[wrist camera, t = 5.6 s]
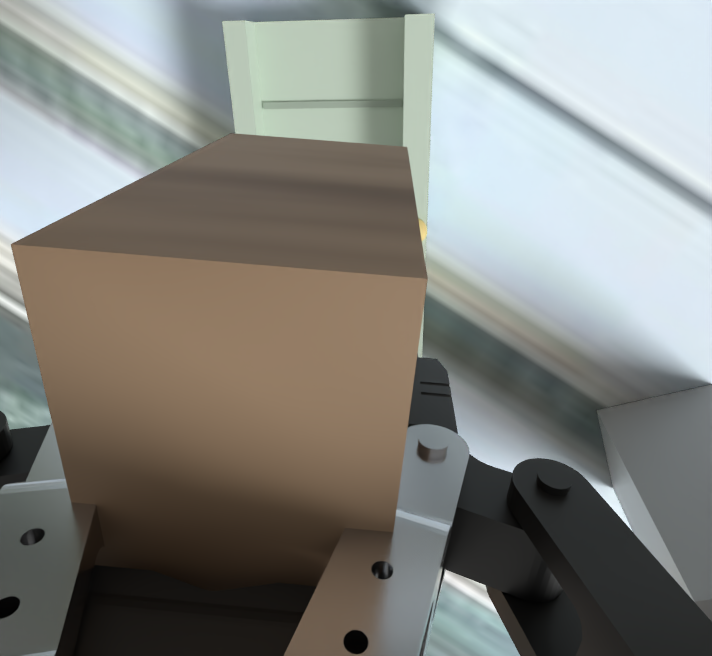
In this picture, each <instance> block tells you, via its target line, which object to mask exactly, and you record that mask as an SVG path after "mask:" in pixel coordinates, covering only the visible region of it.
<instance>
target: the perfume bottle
mask: <svg viewBox="0 0 712 656" xmlns="http://www.w3.org/2000/svg"><path fill="white" fill-rule="evenodd" d="M596 411H597V415H598V420H599V425H600V429H601V434H602V439H603V443H604V448H605V453H606V457H607V462H608V467H609V472H610V476H611V481H612V486H613V489H614V491H615V494H616V496H617V498H618V500H619V502H620V505H621V507H622V509H623V511H624V513H625V515H626V518H627V520H628V522H629V524H630V526H631V529H632V531H633V533H634V534H635V535H636V536H637V538H638V539H639V540H640V541H641V542H642V543H643V544H644V545H645V547H646V548H647V549H648V550H649V551H650V552H651V553H652V555H653V556H654V557H655V558H656V559H657V560H658V561H659V562H660V564H661V565H662V566H663V567H664V568H665V569H666V570H667V572H668V573H669V574H670V575H671V576H672V577H673V578H674V579H675V581H676V582H677V583H678V584H679V585H680V586H681V587H682V589H683V590H684V591H685V592H686V593H687V594H688V595H689V596H690V598H691V599H692V600H693V601H694V602H695V603H696V604H697V606H698V607H699V608H700V609H701V610H702V611H703V612H704V613H705V615H706V616H707V617H708V618H709V619H710V620H711V621H712V384H711V385H706V386H702V387H697V388H693V389H688V390H684V391H679V392H675V393H671V394H666V395H662V396H657V397H653V398H648V399H644V400H639V401H635V402H631V403H626V404H622V405H617V406H613V407H608V408H604V409H600V410H596Z"/></svg>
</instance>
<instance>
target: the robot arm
mask: <svg viewBox="0 0 712 656" xmlns="http://www.w3.org/2000/svg"><path fill="white" fill-rule="evenodd" d="M101 547H105V545H104V540H103V536H102V531H101V526H100V521H99V516H98V511H97V507H96V505H95V504H85V503H74V502H71V500H70V496H69V492H68V487H67V483H66V479H65V474H64V470H63V466H62V462H61V457H60V453H59V449H58V444H57V440H56V436H55V432H54V427H53V423H51V425H47V426H39V427H30V428H21V429H12V430H9V426H8V422H7V419H6V416H5V415H4V413H2V412H1V411H0V656H425V655H426V651H427V646H428V642H429V638H430V633H431V629H432V625H433V621H434V617H435V613H436V609H437V604H438V600H439V596H440V592H441V588H442V584H443V579H444V575H445V571H446V570H448V571H451V572H453V573H456V574H459V575H461V576H464V577H466V578H469V579H471V580H474V581H477V582H479V583H482V584H484V585H486V588H487V592H488V594H489V597H490V599H491V601H492V602H493V604H494V606H495V608H496V610H497V612H498V614H499V616H500V618H501V620H502V622H503V623H504V625H505V627H506V629H507V631H508V633H509V635H510V637H511V639H512V641H513V643H514V644H515V646H516V648H517V650H518V652H519V654H520V656H712V621H711V620H710V619H709V618H708V617H707V616H706V615H705V613H704V612H703V611H702V610H701V609H700V608H699V607H698V606H697V604H696V603H695V602H694V601H693V600H692V599H691V598H690V596H689V595H688V594H687V593H686V592H685V591H684V590H683V589H682V587H681V586H680V585H679V584H678V583H677V582H676V581H675V579H674V578H673V577H672V576H671V575H670V574H669V573H668V572H667V570H666V569H665V568H664V567H663V566H662V565H661V564H660V562H659V561H658V560H657V559H656V558H655V557H654V556H653V555H652V553H651V552H650V551H649V550H648V549H647V548H646V547H645V545H644V544H643V543H642V542H641V541H640V540H639V539H638V538H637V536H636V535H635V534H634V533H633V532H632V531H631V530H630V528H629V527H628V526H627V525H626V524H625V523H624V522H623V521H622V519H621V518H620V517H619V516H618V515H617V514H616V513H615V511H614V510H613V509H612V508H611V507H610V506H609V505H608V504H607V502H606V501H605V500H604V499H603V498H602V497H601V496H600V494H599V493H598V492H597V491H596V490H595V489H594V488H593V487H592V485H591V484H590V483H589V482H588V481H587V480H586V479H585V478H584V477H583V476H582V475H581V474H580V473H579V472H577V471H576V470H574V469H573V468H571V467H569V466H567V465H565V464H563V463H560V462H557V461H553V460H549V459H541V458H536V459H528V460H525V461H522V462H521V463H519V464H518V465H517V466H516V467H515V468H514V470H513V473H511V472H508V471H505V470H501V469H498V468H495V467H492V466H490V465H487V464H485V463H483V462H481V461H479V460H477V459H476V458H474V457H473V456H471V455H470V454H469V448H468V445H467V443H466V442H465V441H464V439H463V438H462V437H461V436H459V435H458V432H457V426H456V420H455V414H454V408H453V403H452V397H451V391H450V387H449V379H448V373H447V370H446V369H445V368H444V367H443V366H442V365H441V363H440V362H439V361H438V360H437V359H432V358H420V357H418V353H417V361H416V368H415V376H414V383H413V391H412V398H411V406H410V413H409V421H408V428H407V435H406V443H405V450H404V458H403V465H402V473H401V480H400V488H399V495H398V503H397V510H396V517H395V525H394V532H385V531H374V530H364V529H353V528H345V529H344V531H343V533H342V535H341V537H340V539H339V541H338V544H337V546H336V548H335V550H334V552H333V554H332V556H331V558H330V560H329V562H328V564H327V566H326V569H325V571H324V573H323V575H322V577H321V579H320V581H319V583H318V585H317V586H308V585H297V584H287V583H273V584H265V585H258V586H250V587H243V588H235V589H227V590H220V591H208V590H205V589H202V588H199V587H196V586H193V585H191V584H188V583H185V582H183V581H180V580H177V579H174V578H172V577H169V576H166V575H163V574H161V573H158V572H155V571H152V570H142V569H131V568H121V567H110V566H100V565H95V561H96V557H97V554H98V552H99V550H100V548H101Z"/></svg>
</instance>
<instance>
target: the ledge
mask: <svg viewBox="0 0 712 656" xmlns="http://www.w3.org/2000/svg"><path fill="white" fill-rule="evenodd" d="M434 18H435V14H408V15H405V17H397V18H366V19H335V20H303V21H272V22H251V21H245V20H243V21H222V25H223V33H224V42H225V50H226V59H227V67H228V76H229V84H230V93H231V101H232V110H233V118H234V127H235V134H248V135H261V136H274V137H287V138H300V139H313V140H326V141H339V142H352V143H365V144H377V145H390V146H403V147H407V148H408V155H409V161H410V168H411V174H412V181H413V187H414V194H415V200H416V207H417V214H418V220H419V227H420V233H421V240H422V246H423V253H424V259H425V266H426V238H427V211H428V183H429V156H430V128H431V101H432V73H433V46H434ZM423 321H424V309H423V316H422V324H421V331H420V339H419V346H418V357H420V358H422V348H423Z"/></svg>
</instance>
